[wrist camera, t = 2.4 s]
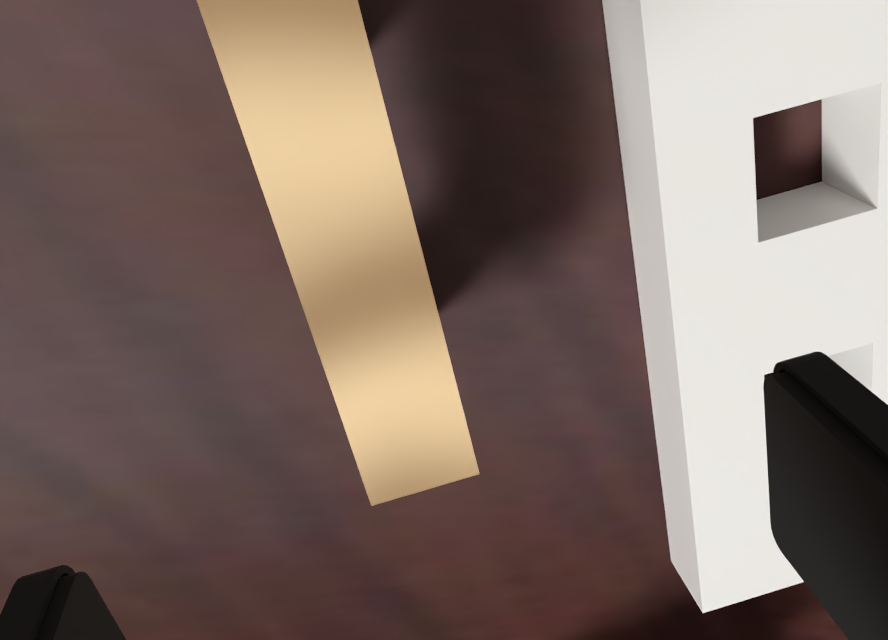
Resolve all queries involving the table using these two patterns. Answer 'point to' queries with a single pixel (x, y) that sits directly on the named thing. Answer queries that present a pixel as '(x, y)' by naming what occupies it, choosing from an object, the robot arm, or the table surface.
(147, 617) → the table surface
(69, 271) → the table surface
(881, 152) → the white slotted board
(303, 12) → the tan wooden u-shaped block
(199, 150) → the table surface
